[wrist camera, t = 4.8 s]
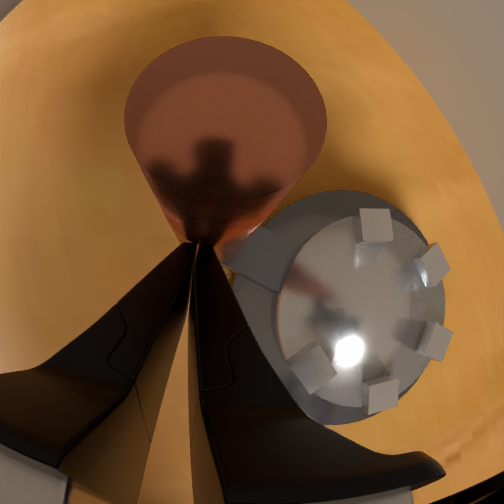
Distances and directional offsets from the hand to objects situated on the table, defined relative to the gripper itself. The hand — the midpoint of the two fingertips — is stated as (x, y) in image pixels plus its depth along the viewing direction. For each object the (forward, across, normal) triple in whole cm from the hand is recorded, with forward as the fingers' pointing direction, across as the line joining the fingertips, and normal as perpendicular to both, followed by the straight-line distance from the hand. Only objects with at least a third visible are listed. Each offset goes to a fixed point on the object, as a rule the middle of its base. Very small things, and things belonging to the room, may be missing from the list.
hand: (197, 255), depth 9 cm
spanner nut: (+4, -6, +5) cm, 9 cm away
